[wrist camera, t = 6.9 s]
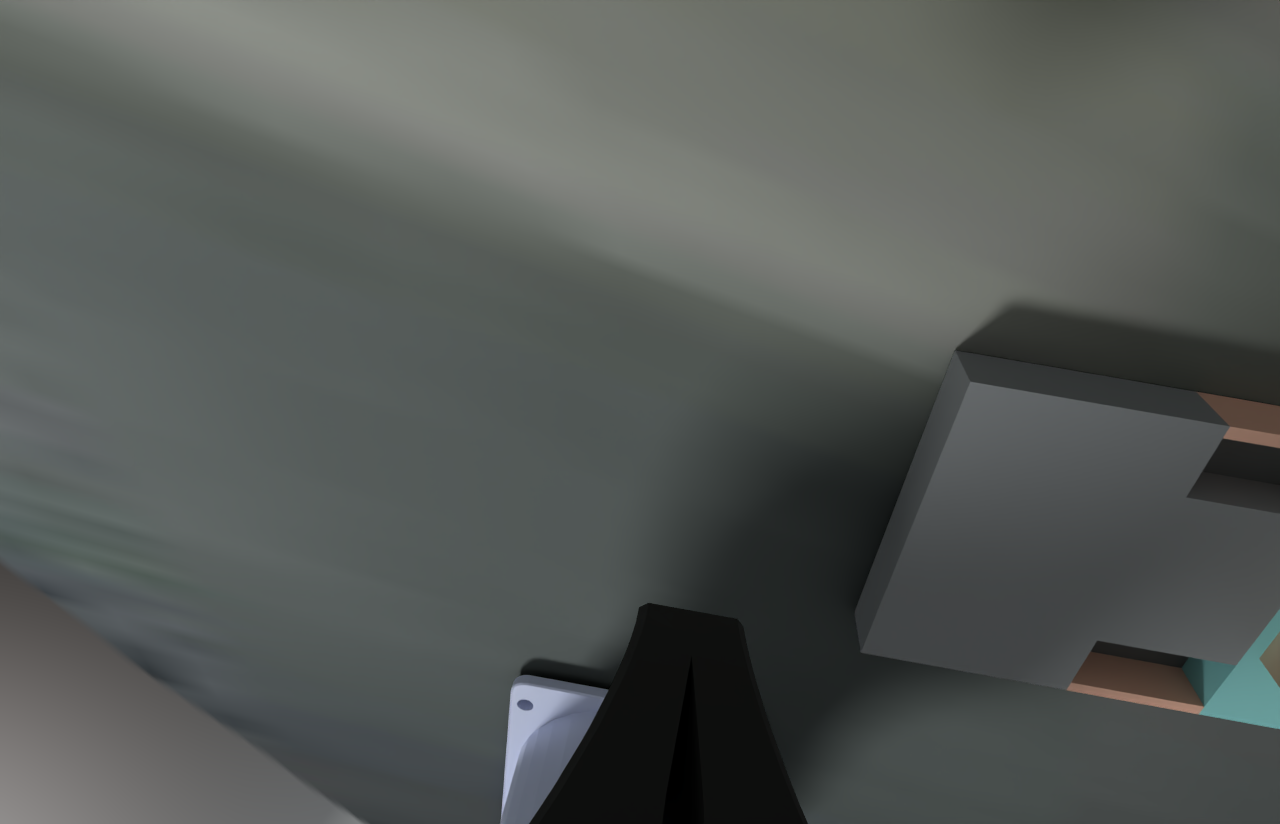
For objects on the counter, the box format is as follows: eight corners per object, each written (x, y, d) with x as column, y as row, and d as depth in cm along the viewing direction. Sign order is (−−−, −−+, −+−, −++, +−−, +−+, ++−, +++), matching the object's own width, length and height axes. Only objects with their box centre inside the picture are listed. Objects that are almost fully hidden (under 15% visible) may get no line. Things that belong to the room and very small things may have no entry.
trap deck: (854, 611, 23) (873, 732, 19) (954, 350, 18) (1002, 445, 15) (1364, 704, 22) (1474, 842, 19) (1590, 459, 18) (1788, 582, 15)
